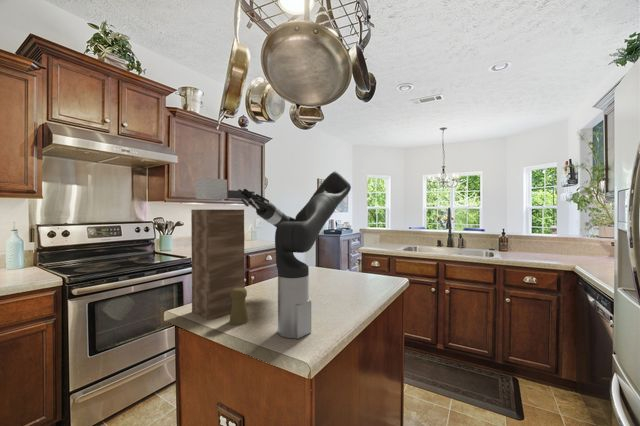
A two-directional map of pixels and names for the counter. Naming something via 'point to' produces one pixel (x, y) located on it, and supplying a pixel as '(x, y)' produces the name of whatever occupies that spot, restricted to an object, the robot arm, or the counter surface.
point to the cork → (238, 307)
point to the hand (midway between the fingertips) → (240, 191)
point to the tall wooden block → (216, 259)
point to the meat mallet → (216, 190)
